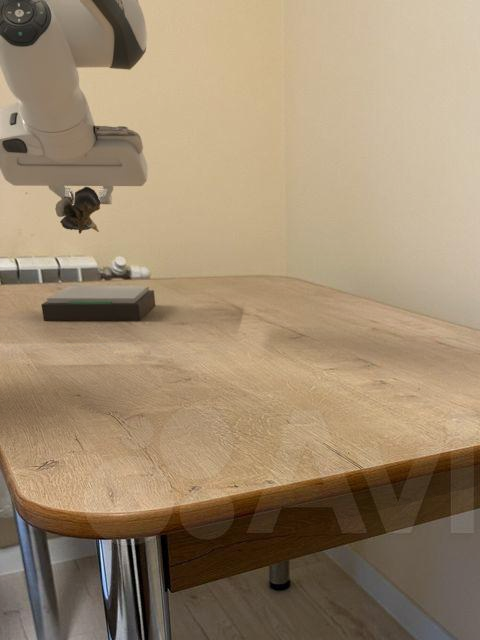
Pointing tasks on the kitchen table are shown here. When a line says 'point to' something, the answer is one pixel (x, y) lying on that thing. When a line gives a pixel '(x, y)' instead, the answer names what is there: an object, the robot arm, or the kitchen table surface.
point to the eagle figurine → (79, 210)
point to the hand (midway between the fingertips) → (88, 201)
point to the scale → (99, 303)
